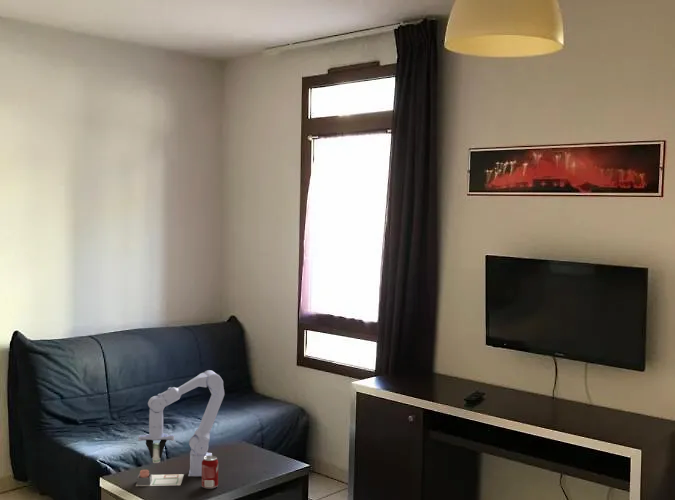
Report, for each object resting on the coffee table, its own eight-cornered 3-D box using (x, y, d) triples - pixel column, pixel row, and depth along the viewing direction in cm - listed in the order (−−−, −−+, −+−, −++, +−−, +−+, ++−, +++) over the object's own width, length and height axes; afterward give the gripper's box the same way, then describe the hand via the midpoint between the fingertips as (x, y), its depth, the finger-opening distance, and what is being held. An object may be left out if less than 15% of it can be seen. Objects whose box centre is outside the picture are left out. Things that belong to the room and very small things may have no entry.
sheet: (183, 474, 325) (183, 474, 325) (180, 485, 312) (180, 484, 312) (141, 475, 323) (140, 474, 323) (135, 486, 311) (135, 485, 311)
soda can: (214, 490, 308) (214, 461, 307) (198, 488, 309) (199, 459, 309) (220, 484, 314) (220, 456, 314) (205, 483, 316) (205, 454, 315)
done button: (149, 477, 316) (149, 469, 316) (148, 481, 312) (148, 472, 312) (140, 478, 315) (140, 469, 315) (139, 481, 312) (139, 472, 312)
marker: (160, 460, 321) (160, 442, 320) (159, 463, 318) (159, 445, 317) (153, 460, 321) (153, 442, 320) (152, 463, 317) (151, 445, 317)
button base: (151, 480, 317) (151, 473, 317) (149, 485, 312) (149, 478, 311) (139, 481, 316) (139, 473, 316) (136, 485, 311) (137, 478, 311)
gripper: (175, 422, 323) (175, 454, 324) (140, 422, 322) (140, 454, 322) (172, 427, 316) (173, 459, 317) (137, 427, 315) (137, 460, 315)
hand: (156, 457), depth 319 cm, fingers closed on marker, 3 cm apart
